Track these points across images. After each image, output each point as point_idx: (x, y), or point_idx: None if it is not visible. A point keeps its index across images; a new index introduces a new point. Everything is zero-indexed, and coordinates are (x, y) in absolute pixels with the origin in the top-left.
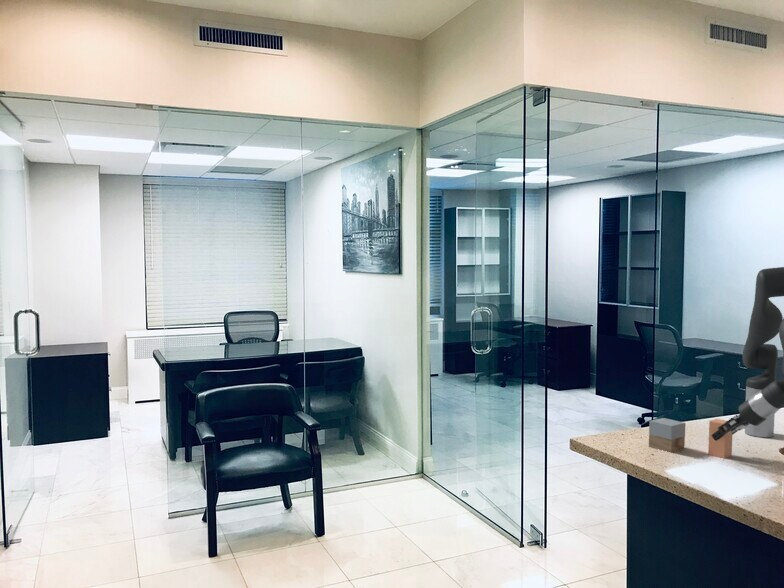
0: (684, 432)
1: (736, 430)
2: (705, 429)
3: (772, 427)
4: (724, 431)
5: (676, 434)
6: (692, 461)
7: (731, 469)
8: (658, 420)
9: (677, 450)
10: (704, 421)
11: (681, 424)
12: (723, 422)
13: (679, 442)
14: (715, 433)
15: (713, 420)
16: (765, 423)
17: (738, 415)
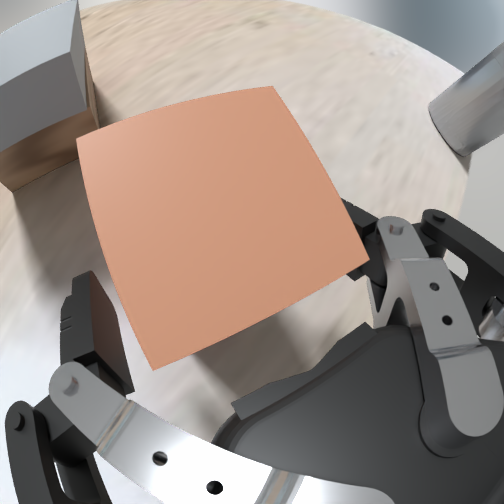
0: (75, 97)
1: (352, 274)
2: (355, 46)
3: (481, 146)
4: (63, 465)
5: (4, 132)
6: (7, 320)
7: (105, 461)
8: (8, 34)
9: (50, 168)
10: (377, 30)
11: (27, 74)
12: (205, 264)
13: (51, 143)
14: (61, 330)
15: (152, 126)
16: (479, 134)
17: (454, 431)
